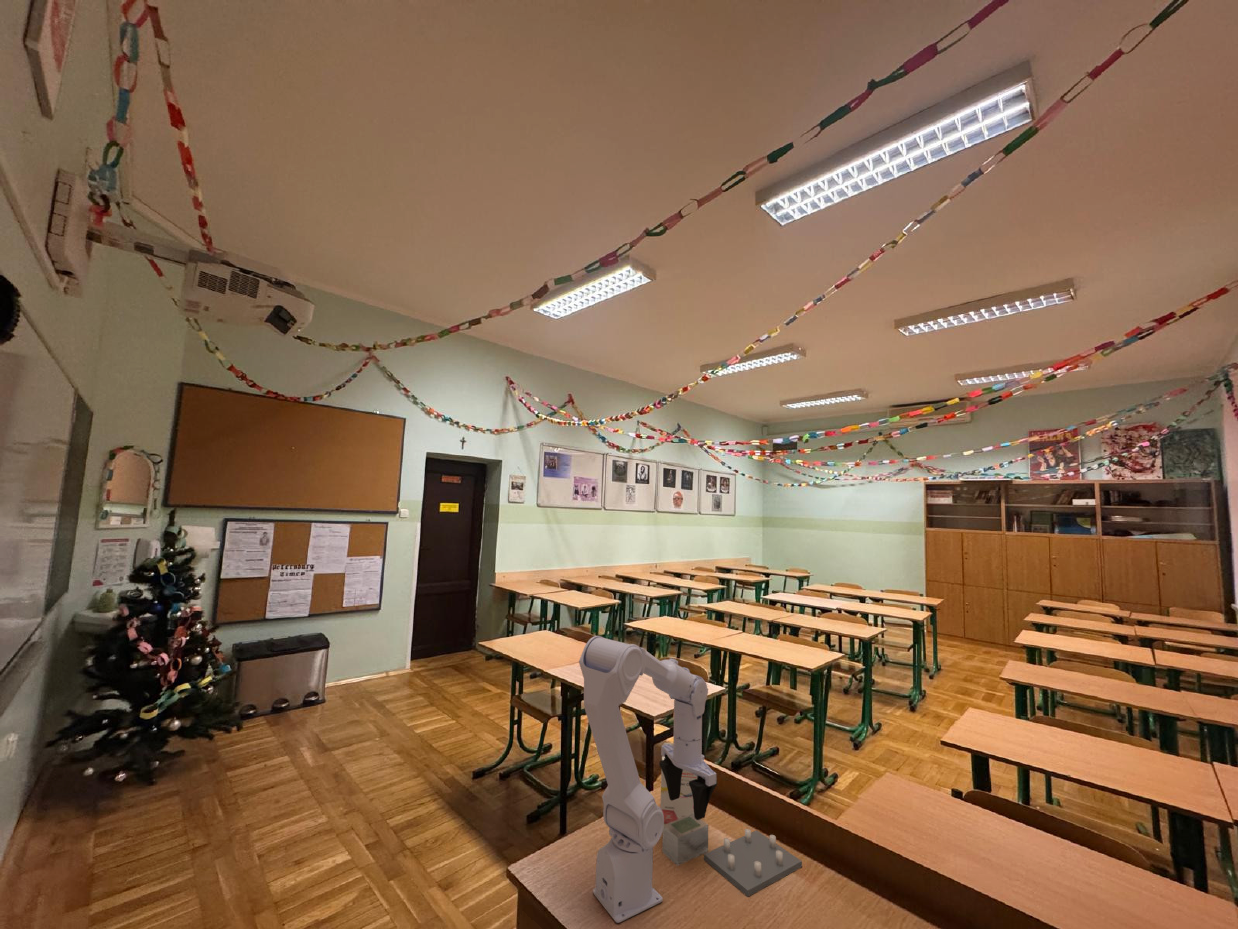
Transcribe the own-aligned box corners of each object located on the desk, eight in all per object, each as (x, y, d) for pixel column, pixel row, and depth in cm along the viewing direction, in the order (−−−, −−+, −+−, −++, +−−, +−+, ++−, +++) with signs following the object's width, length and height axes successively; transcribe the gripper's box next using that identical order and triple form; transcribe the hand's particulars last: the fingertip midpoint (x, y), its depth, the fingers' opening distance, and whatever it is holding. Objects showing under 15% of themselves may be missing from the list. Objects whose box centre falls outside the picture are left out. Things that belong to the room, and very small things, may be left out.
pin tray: (747, 897, 83) (747, 878, 83) (703, 859, 92) (704, 842, 93) (802, 867, 91) (801, 849, 91) (756, 835, 100) (756, 819, 101)
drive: (677, 867, 90) (677, 837, 91) (662, 853, 94) (662, 824, 95) (709, 851, 95) (709, 823, 95) (694, 839, 98) (694, 812, 99)
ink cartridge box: (659, 824, 103) (661, 751, 105) (660, 811, 108) (661, 741, 110) (699, 828, 102) (700, 754, 104) (698, 815, 107) (699, 744, 109)
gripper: (727, 745, 93) (727, 821, 92) (679, 719, 105) (678, 786, 104) (701, 753, 90) (700, 832, 88) (654, 725, 102) (652, 794, 100)
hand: (686, 808), depth 95 cm, fingers open, 7 cm apart
